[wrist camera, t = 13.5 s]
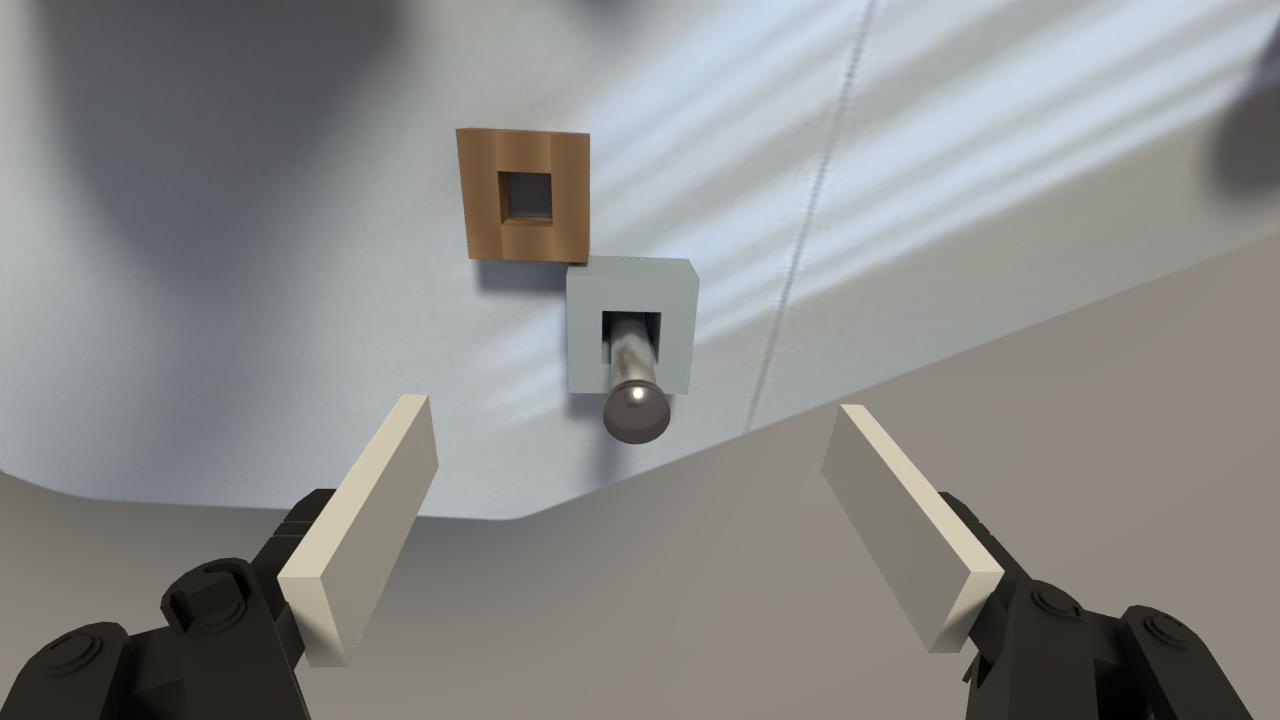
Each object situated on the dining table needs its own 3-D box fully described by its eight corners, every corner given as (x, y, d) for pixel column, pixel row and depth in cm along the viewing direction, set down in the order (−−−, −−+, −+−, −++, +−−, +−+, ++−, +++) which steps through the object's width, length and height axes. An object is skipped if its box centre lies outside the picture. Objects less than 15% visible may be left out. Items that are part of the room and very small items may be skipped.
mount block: (481, 246, 42) (469, 258, 38) (470, 127, 38) (455, 129, 34) (589, 250, 43) (587, 262, 39) (589, 133, 39) (587, 135, 35)
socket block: (573, 361, 47) (568, 392, 42) (571, 255, 43) (566, 275, 37) (679, 363, 48) (687, 394, 42) (688, 259, 43) (699, 279, 38)
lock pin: (604, 334, 46) (602, 444, 31) (605, 292, 44) (604, 387, 29) (648, 335, 46) (667, 444, 31) (650, 293, 45) (672, 387, 29)
